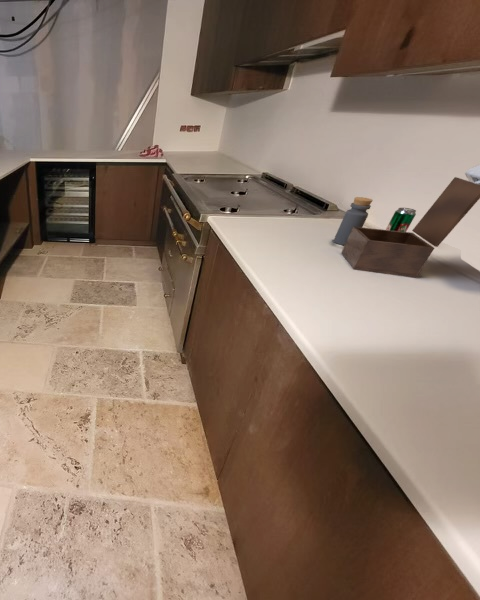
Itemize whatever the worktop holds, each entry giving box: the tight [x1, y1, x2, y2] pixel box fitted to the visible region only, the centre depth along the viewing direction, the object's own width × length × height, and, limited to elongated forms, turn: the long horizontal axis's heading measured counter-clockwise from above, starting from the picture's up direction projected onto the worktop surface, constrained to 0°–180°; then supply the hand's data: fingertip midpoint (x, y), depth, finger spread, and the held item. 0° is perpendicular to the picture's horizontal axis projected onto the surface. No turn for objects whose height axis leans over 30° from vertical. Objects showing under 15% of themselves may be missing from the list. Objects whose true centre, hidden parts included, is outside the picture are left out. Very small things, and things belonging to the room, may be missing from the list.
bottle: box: [333, 196, 374, 246], centre depth 107 cm, size 6×6×15 cm
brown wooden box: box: [341, 227, 435, 279], centre depth 94 cm, size 15×13×9 cm
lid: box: [411, 176, 480, 248], centre depth 85 cm, size 15×13×1 cm
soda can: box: [385, 207, 417, 232], centre depth 106 cm, size 5×5×12 cm
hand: (463, 196), depth 82 cm, fingers closed
